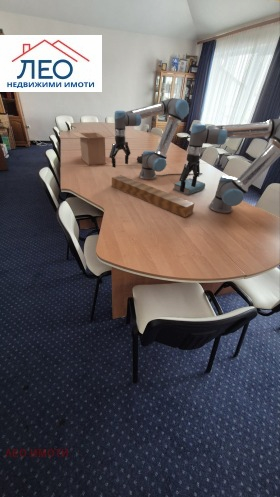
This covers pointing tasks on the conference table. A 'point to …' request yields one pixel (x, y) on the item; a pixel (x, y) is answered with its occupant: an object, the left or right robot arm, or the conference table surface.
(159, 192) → the long wooden beam
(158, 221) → the conference table surface
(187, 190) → the book
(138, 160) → the laser sight
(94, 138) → the box
